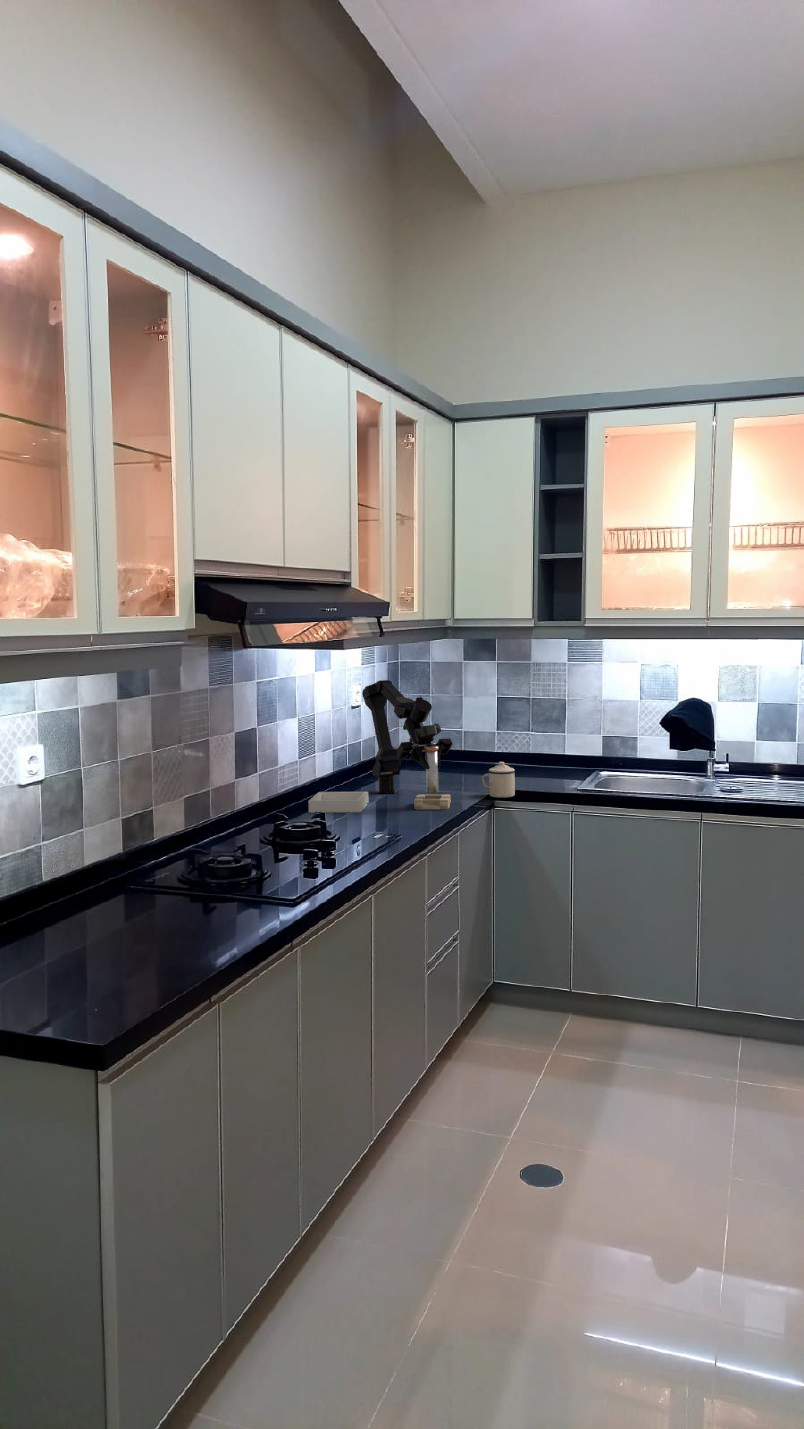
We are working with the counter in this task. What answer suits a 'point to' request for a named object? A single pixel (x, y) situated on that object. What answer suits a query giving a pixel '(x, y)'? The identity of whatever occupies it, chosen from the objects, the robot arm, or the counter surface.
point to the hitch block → (432, 801)
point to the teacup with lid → (500, 781)
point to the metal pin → (431, 768)
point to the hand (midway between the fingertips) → (433, 768)
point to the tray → (338, 802)
